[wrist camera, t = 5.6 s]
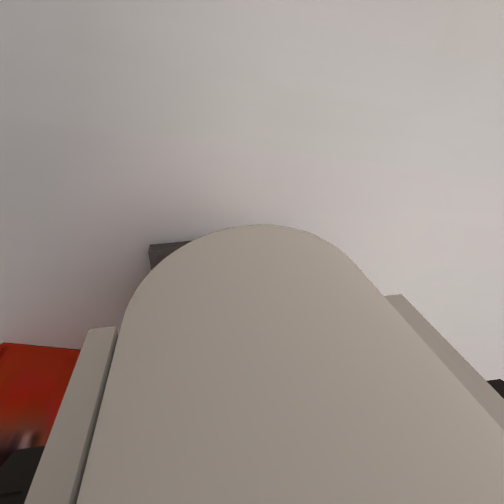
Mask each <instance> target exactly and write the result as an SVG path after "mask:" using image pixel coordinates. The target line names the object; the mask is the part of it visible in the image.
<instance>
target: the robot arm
mask: <svg viewBox="0 0 504 504" xmlns="http://www.w3.org/2000/svg"><path fill="white" fill-rule="evenodd" d="M384 297H385V298H386V299H387V300H388V301H389V303H390V304H391V305H392V306H393V307H394V308H395V309H396V310H397V312H398V313H399V314H400V315H401V316H402V317H403V318H404V319H405V320H406V322H407V323H408V324H409V325H410V326H411V327H412V328H413V329H414V331H415V332H416V333H417V334H418V335H419V336H420V337H421V338H422V340H423V341H424V342H425V343H426V344H427V345H428V346H429V347H430V349H431V350H432V351H433V352H434V353H435V354H436V355H437V356H438V358H439V359H440V360H441V361H442V362H443V363H444V364H445V365H446V367H447V368H448V369H449V370H450V371H451V372H452V373H453V374H454V376H455V377H456V378H457V379H458V380H459V381H460V382H461V383H462V384H463V386H464V387H465V388H466V389H467V390H468V391H469V392H470V393H471V395H472V396H473V397H474V398H475V399H476V400H477V401H478V402H479V404H480V405H481V406H482V407H483V408H484V409H485V410H486V411H487V413H488V414H489V415H490V416H491V417H492V418H493V419H494V420H495V422H496V423H497V424H498V425H499V426H500V427H501V428H502V429H503V431H504V381H503V380H501V379H497V380H490V381H486V380H485V379H484V378H483V377H482V376H481V375H480V374H479V373H478V372H477V371H476V370H475V369H474V368H473V367H472V366H471V365H470V364H469V363H468V362H467V361H466V360H465V359H464V358H463V357H462V356H461V355H460V354H459V353H458V352H457V351H456V350H455V349H454V348H453V347H452V346H451V344H450V343H449V342H448V341H447V340H446V339H445V338H444V337H443V336H442V335H441V334H440V333H439V332H438V331H437V330H436V329H435V328H434V327H433V326H432V325H431V324H430V323H429V322H428V321H427V320H426V319H425V318H424V317H423V316H422V315H421V314H420V313H419V312H418V311H417V310H416V309H415V308H414V307H413V306H412V305H411V304H410V303H409V302H408V301H407V300H406V298H405V297H404V296H403V295H402V294H398V295H389V296H384ZM117 340H118V334H117V329H116V326H111V327H102V328H93V329H89V330H88V333H87V335H86V338H85V341H84V343H83V346H82V349H81V352H80V354H79V357H78V360H77V362H76V365H75V368H74V370H73V373H72V376H71V378H70V381H69V384H68V387H67V389H66V392H65V395H64V397H63V400H62V403H61V405H60V408H59V411H58V414H57V416H56V419H55V422H54V424H53V427H52V430H51V432H50V435H49V438H48V440H47V443H46V446H39V447H32V448H25V449H18V450H15V451H14V452H13V453H12V454H11V455H10V457H9V458H8V459H7V460H6V461H5V462H4V463H3V464H2V466H1V467H0V504H76V503H77V499H78V495H79V491H80V487H81V483H82V479H83V475H84V471H85V467H86V463H87V459H88V455H89V451H90V447H91V443H92V439H93V435H94V431H95V427H96V423H97V419H98V415H99V411H100V407H101V403H102V399H103V395H104V391H105V387H106V383H107V379H108V375H109V371H110V367H111V363H112V360H113V356H114V352H115V348H116V344H117Z"/></svg>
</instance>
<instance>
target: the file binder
mask: <svg viewBox="0 0 504 504" xmlns="http://www.w3.org/2000/svg"><path fill="white" fill-rule="evenodd" d="M80 352H81V350H74V349H64V348H53V347H43V346H33V345H23V344H13V343H3V344H2V345H0V467H1V466H2V464H3V463H4V462H5V461H6V460H7V459H8V458H9V457H10V455H11V454H12V453H13V452H14V451H15V450H18V449H25V448H32V447H39V446H46V443H47V440H48V438H49V435H50V432H51V430H52V427H53V424H54V422H55V419H56V416H57V414H58V411H59V408H60V405H61V403H62V400H63V397H64V395H65V392H66V389H67V387H68V384H69V381H70V378H71V376H72V373H73V370H74V368H75V365H76V362H77V360H78V357H79V354H80Z"/></svg>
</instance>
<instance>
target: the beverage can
mask: <svg viewBox="0 0 504 504" xmlns="http://www.w3.org/2000/svg"><path fill="white" fill-rule="evenodd" d="M76 504H504V431H503V429H502V428H501V427H500V426H499V425H498V424H497V423H496V422H495V420H494V419H493V418H492V417H491V416H490V415H489V414H488V413H487V411H486V410H485V409H484V408H483V407H482V406H481V405H480V404H479V402H478V401H477V400H476V399H475V398H474V397H473V396H472V395H471V393H470V392H469V391H468V390H467V389H466V388H465V387H464V386H463V384H462V383H461V382H460V381H459V380H458V379H457V378H456V377H455V376H454V374H453V373H452V372H451V371H450V370H449V369H448V368H447V367H446V365H445V364H444V363H443V362H442V361H441V360H440V359H439V358H438V356H437V355H436V354H435V353H434V352H433V351H432V350H431V349H430V347H429V346H428V345H427V344H426V343H425V342H424V341H423V340H422V338H421V337H420V336H419V335H418V334H417V333H416V332H415V331H414V329H413V328H412V327H411V326H410V325H409V324H408V323H407V322H406V320H405V319H404V318H403V317H402V316H401V315H400V314H399V313H398V312H397V310H396V309H395V308H394V307H393V306H392V305H391V304H390V303H389V301H388V300H387V299H386V298H385V297H384V296H383V295H382V294H381V292H380V291H379V290H378V289H377V288H376V287H375V286H374V285H373V283H372V282H371V281H370V280H369V279H368V278H367V277H366V276H365V274H364V273H363V272H362V271H361V270H360V269H359V268H358V267H357V266H356V264H355V263H354V262H353V261H352V260H351V259H350V258H349V257H348V256H347V255H346V254H344V253H343V252H342V251H341V250H339V249H338V248H337V247H335V246H334V245H332V244H331V243H329V242H327V241H326V240H324V239H322V238H320V237H318V236H315V235H313V234H310V233H308V232H305V231H302V230H298V229H294V228H289V227H283V226H275V225H247V226H239V227H233V228H228V229H224V230H220V231H217V232H213V233H210V234H208V235H205V236H202V237H200V238H198V239H195V240H193V241H191V242H189V243H187V244H186V245H184V246H182V247H180V248H179V249H177V250H176V251H174V252H173V253H171V254H170V255H169V256H167V257H166V258H165V259H163V260H162V261H161V262H160V263H159V264H158V265H157V266H155V267H154V268H153V269H152V270H151V272H150V273H149V274H148V275H147V276H146V277H145V278H144V280H143V281H142V282H141V284H140V285H139V286H138V288H137V289H136V291H135V293H134V294H133V296H132V298H131V300H130V302H129V304H128V306H127V308H126V311H125V314H124V317H123V320H122V324H121V328H120V332H119V336H118V340H117V344H116V348H115V352H114V356H113V360H112V363H111V367H110V371H109V375H108V379H107V383H106V387H105V391H104V395H103V399H102V403H101V407H100V411H99V415H98V419H97V423H96V427H95V431H94V435H93V439H92V443H91V447H90V451H89V455H88V459H87V463H86V467H85V471H84V475H83V479H82V483H81V487H80V491H79V495H78V499H77V503H76Z"/></svg>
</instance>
